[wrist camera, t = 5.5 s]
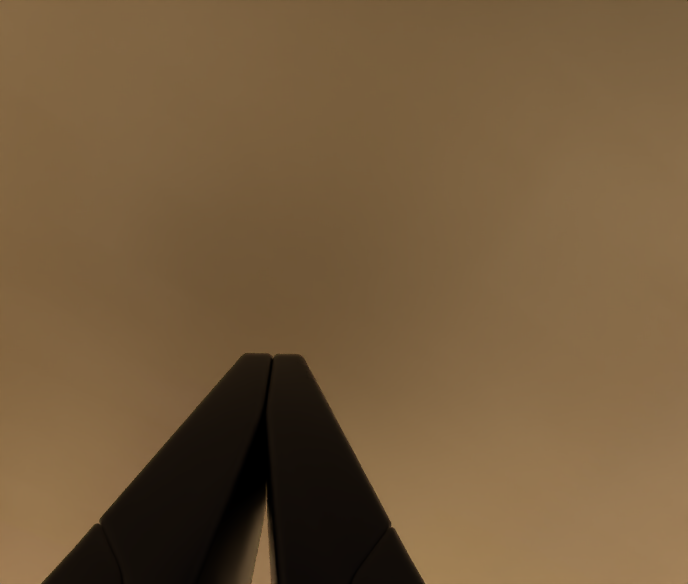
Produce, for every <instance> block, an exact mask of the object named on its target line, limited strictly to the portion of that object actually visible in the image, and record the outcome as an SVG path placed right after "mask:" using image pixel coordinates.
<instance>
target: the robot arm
mask: <svg viewBox="0 0 688 584" xmlns="http://www.w3.org/2000/svg"><path fill="white" fill-rule="evenodd" d="M266 501H267V516H268V538H269V556H270V573H271V584H425V582H424V581H423V579H422V577H421V575H420V574H419V572H418V570H417V569H416V567H415V565H414V563H413V562H412V560H411V558H410V556H409V555H408V553H407V551H406V549H405V547H404V545H403V543H402V542H401V540H400V538H399V536H398V534H397V532H396V530H395V529H394V528H392V527H391V521H390V520H389V518H388V516H387V514H386V512H385V510H384V508H383V506H382V504H381V503H380V501H379V499H378V497H377V495H376V493H375V491H374V489H373V487H372V486H371V484H370V482H369V480H368V478H367V476H366V474H365V472H364V471H363V469H362V467H361V465H360V463H359V461H358V459H357V457H356V455H355V454H354V452H353V450H352V448H351V446H350V444H349V442H348V440H347V438H346V437H345V435H344V433H343V431H342V429H341V427H340V425H339V423H338V421H337V420H336V418H335V416H334V414H333V412H332V410H331V408H330V406H329V404H328V403H327V401H326V399H325V397H324V395H323V393H322V391H321V389H320V387H319V386H318V384H317V382H316V380H315V378H314V376H313V374H312V372H311V370H310V369H309V367H308V365H307V363H306V361H305V359H304V358H303V356H301V355H299V354H276V355H275V356H274V357H272V356H271V355H270V354H267V353H245V354H243V355H242V356H241V357H240V358H239V359H238V360H237V362H236V363H235V364H234V365H233V366H232V367H231V369H230V370H229V371H228V372H227V373H226V374H225V375H224V377H223V378H222V379H221V380H220V381H219V382H218V383H217V385H216V386H215V387H214V388H213V389H212V390H211V392H210V393H209V394H208V395H207V396H206V397H205V398H204V400H203V401H202V402H201V403H200V404H199V405H198V406H197V408H196V409H195V410H194V411H193V412H192V413H191V415H190V416H189V417H188V418H187V419H186V420H185V421H184V423H183V424H182V425H181V426H180V427H179V428H178V429H177V431H176V432H175V433H174V434H173V435H172V436H171V437H170V439H169V440H168V441H167V442H166V443H165V444H164V446H163V447H162V448H161V449H160V450H159V451H158V452H157V454H156V455H155V456H154V457H153V458H152V459H151V460H150V462H149V463H148V464H147V465H146V466H145V467H144V469H143V470H142V471H141V472H140V473H139V474H138V475H137V477H136V478H135V479H134V480H133V481H132V482H131V483H130V485H129V486H128V487H127V488H126V489H125V490H124V492H123V493H122V494H121V495H120V496H119V497H118V498H117V500H116V501H115V502H114V503H113V504H112V505H111V506H110V508H109V509H108V510H107V511H106V512H105V513H104V514H103V516H102V517H101V518H100V520H99V523H100V524H94V525H93V527H92V528H91V529H90V530H89V531H88V532H87V534H86V535H85V536H84V537H83V538H82V539H81V541H80V542H79V543H78V544H77V545H76V546H75V547H74V548H73V550H72V551H71V552H70V553H69V554H68V555H67V556H66V557H65V558H64V559H63V560H62V562H61V563H60V564H59V565H58V566H57V567H56V568H55V569H54V570H53V571H52V572H51V574H50V575H49V576H48V577H47V578H46V579H45V580H44V581H43V582H42V583H41V584H251V581H252V576H253V571H254V566H255V561H256V556H257V551H258V546H259V541H260V536H261V531H262V526H263V521H264V515H265V509H266Z"/></svg>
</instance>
